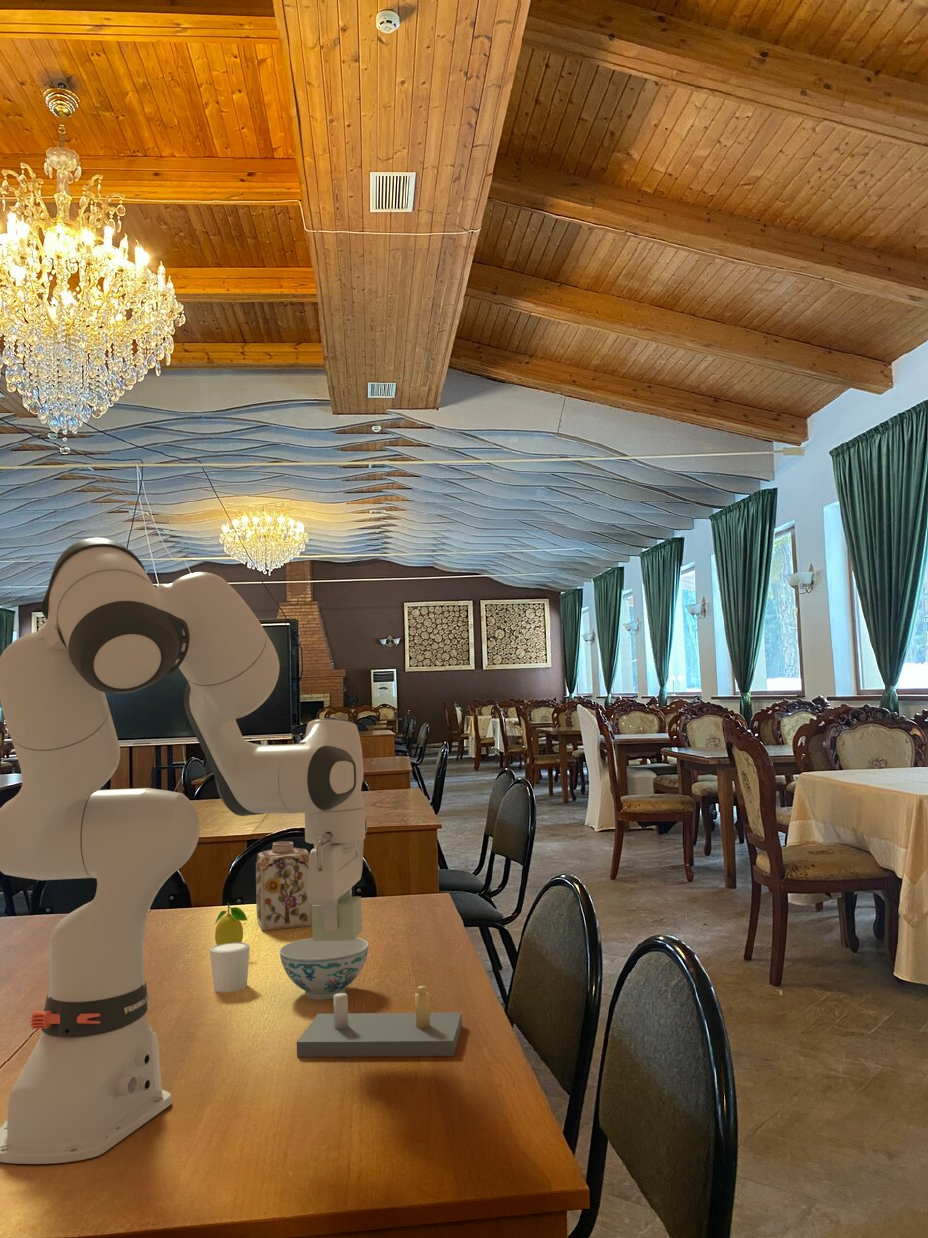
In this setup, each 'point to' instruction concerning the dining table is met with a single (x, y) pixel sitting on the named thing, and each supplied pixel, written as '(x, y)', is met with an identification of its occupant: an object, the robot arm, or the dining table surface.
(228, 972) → the shot glass
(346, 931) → the collar block
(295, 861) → the decorative jar
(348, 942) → the chinaware
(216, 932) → the lemon
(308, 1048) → the stand board
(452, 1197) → the dining table surface
